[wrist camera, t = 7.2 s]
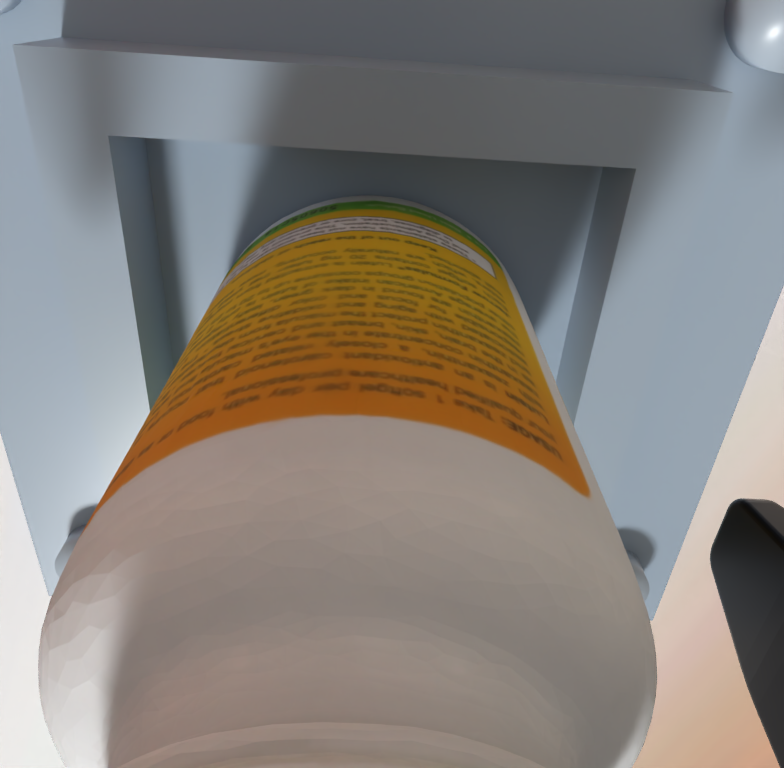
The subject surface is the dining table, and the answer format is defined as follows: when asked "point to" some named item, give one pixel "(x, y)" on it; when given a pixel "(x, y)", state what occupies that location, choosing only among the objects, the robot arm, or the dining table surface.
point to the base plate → (399, 180)
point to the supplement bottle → (353, 531)
